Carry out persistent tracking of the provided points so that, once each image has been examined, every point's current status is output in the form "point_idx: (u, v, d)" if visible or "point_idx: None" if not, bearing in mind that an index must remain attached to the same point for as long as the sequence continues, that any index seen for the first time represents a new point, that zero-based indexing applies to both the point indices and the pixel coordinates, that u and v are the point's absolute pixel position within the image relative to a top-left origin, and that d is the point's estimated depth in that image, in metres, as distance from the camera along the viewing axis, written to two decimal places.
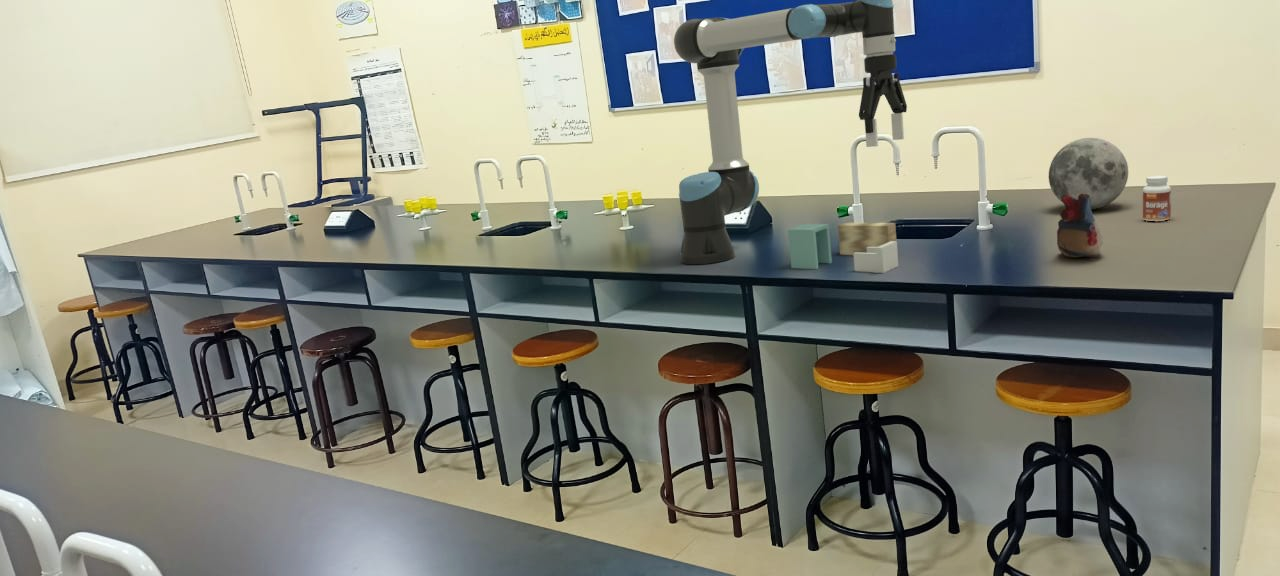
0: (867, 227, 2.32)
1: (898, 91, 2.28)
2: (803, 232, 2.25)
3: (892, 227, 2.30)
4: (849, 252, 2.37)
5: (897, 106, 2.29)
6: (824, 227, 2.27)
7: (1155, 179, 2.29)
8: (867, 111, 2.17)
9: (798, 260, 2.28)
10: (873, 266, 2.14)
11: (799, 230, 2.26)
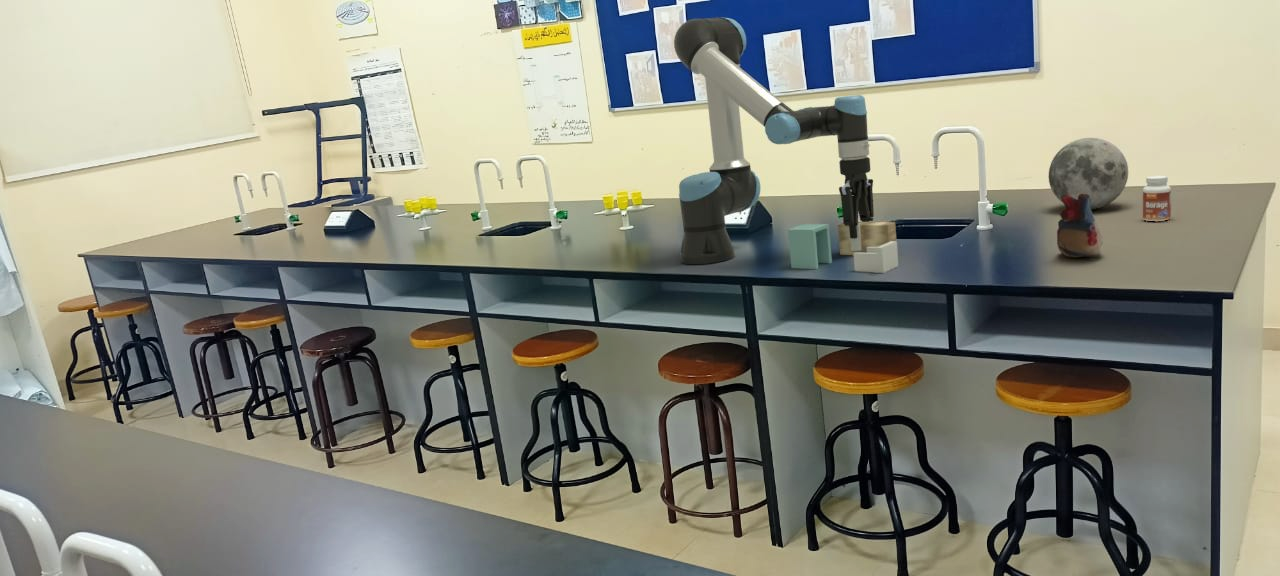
0: (867, 227, 2.32)
1: (869, 196, 2.37)
2: (803, 232, 2.25)
3: (892, 226, 2.30)
4: (849, 251, 2.37)
5: (865, 212, 2.36)
6: (824, 227, 2.27)
7: (1155, 179, 2.29)
8: (851, 220, 2.30)
9: (798, 260, 2.28)
10: (873, 266, 2.14)
11: (799, 230, 2.26)
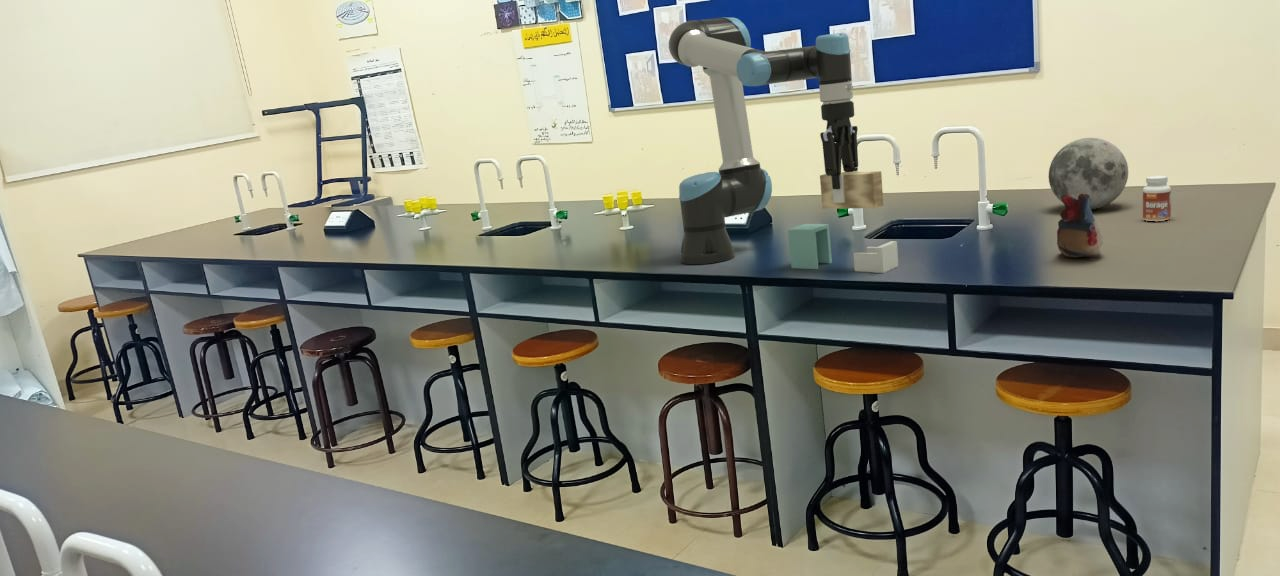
0: (851, 176, 2.15)
1: (853, 145, 2.20)
2: (803, 232, 2.25)
3: (877, 175, 2.13)
4: (832, 204, 2.20)
5: (849, 162, 2.19)
6: (824, 227, 2.27)
7: (1155, 179, 2.29)
8: (833, 168, 2.13)
9: (798, 260, 2.28)
10: (873, 266, 2.14)
11: (799, 230, 2.26)
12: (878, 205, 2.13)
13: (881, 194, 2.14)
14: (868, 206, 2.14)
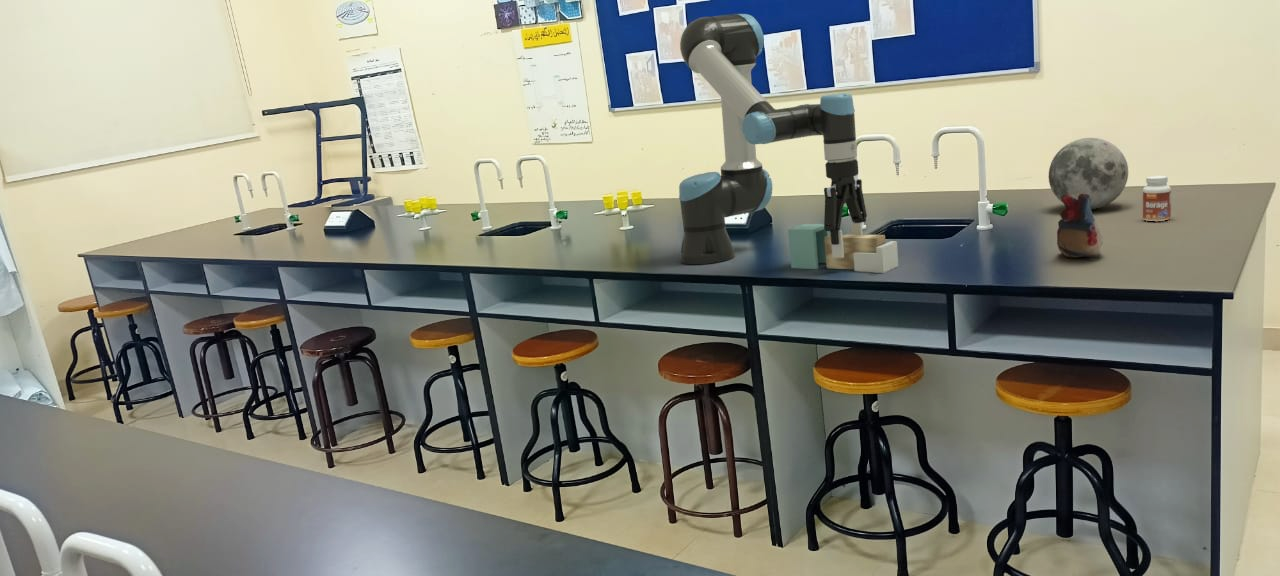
0: (855, 239, 2.18)
1: (859, 198, 2.23)
2: (803, 232, 2.25)
3: (881, 239, 2.16)
4: (836, 265, 2.23)
5: (857, 214, 2.23)
6: None
7: (1155, 179, 2.29)
8: (832, 224, 2.14)
9: (798, 260, 2.28)
10: (873, 266, 2.14)
11: (799, 230, 2.26)
12: None
13: None
14: None
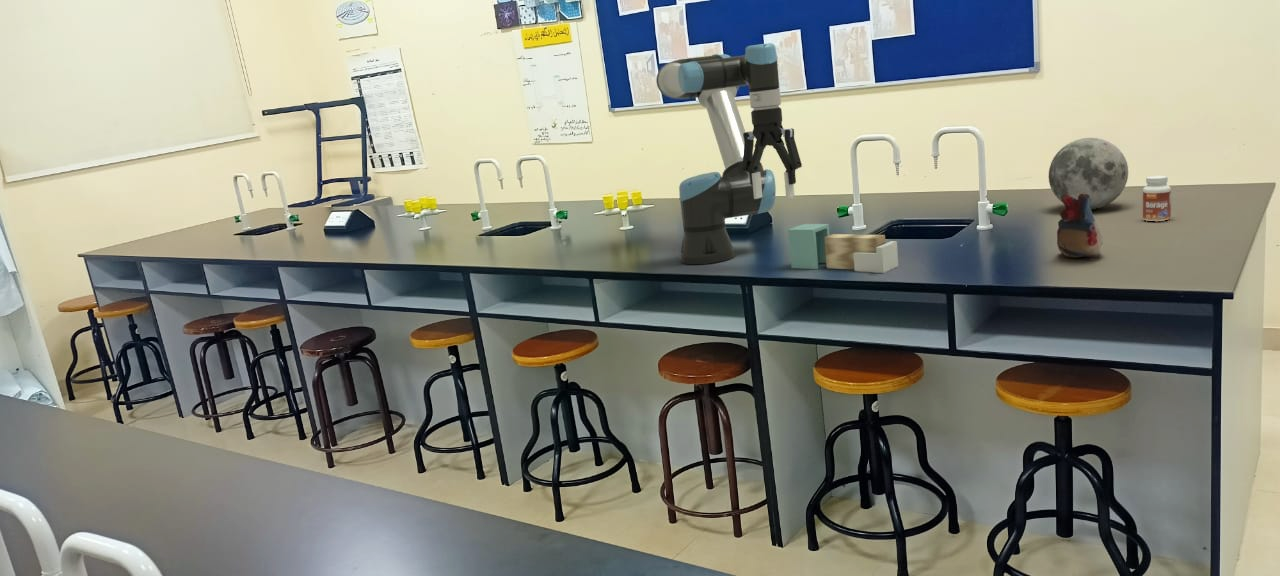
0: (855, 239, 2.18)
1: None
2: (803, 232, 2.25)
3: (881, 239, 2.16)
4: (836, 265, 2.23)
5: None
6: (824, 227, 2.27)
7: (1155, 179, 2.29)
8: None
9: (798, 260, 2.28)
10: (873, 266, 2.14)
11: (799, 230, 2.26)
12: None
13: None
14: None
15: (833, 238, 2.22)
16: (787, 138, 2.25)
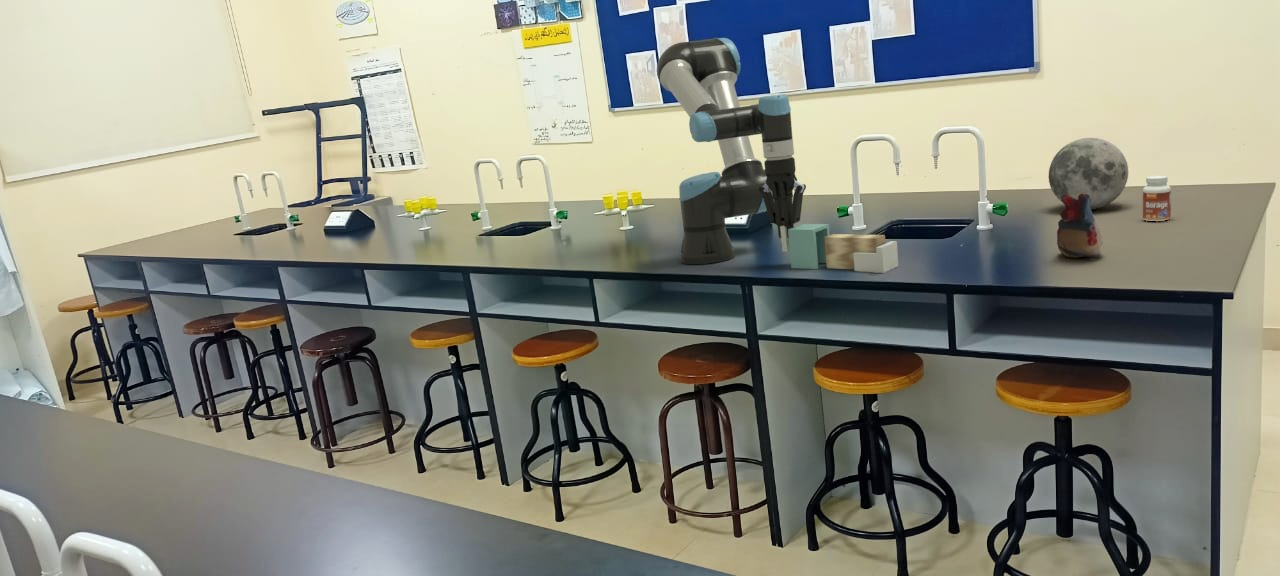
0: (855, 239, 2.18)
1: None
2: (803, 232, 2.25)
3: (881, 239, 2.16)
4: (836, 265, 2.23)
5: None
6: (824, 227, 2.27)
7: (1155, 179, 2.29)
8: None
9: (798, 260, 2.28)
10: (873, 266, 2.14)
11: (799, 230, 2.26)
12: None
13: None
14: None
15: (833, 238, 2.22)
16: (796, 193, 2.26)
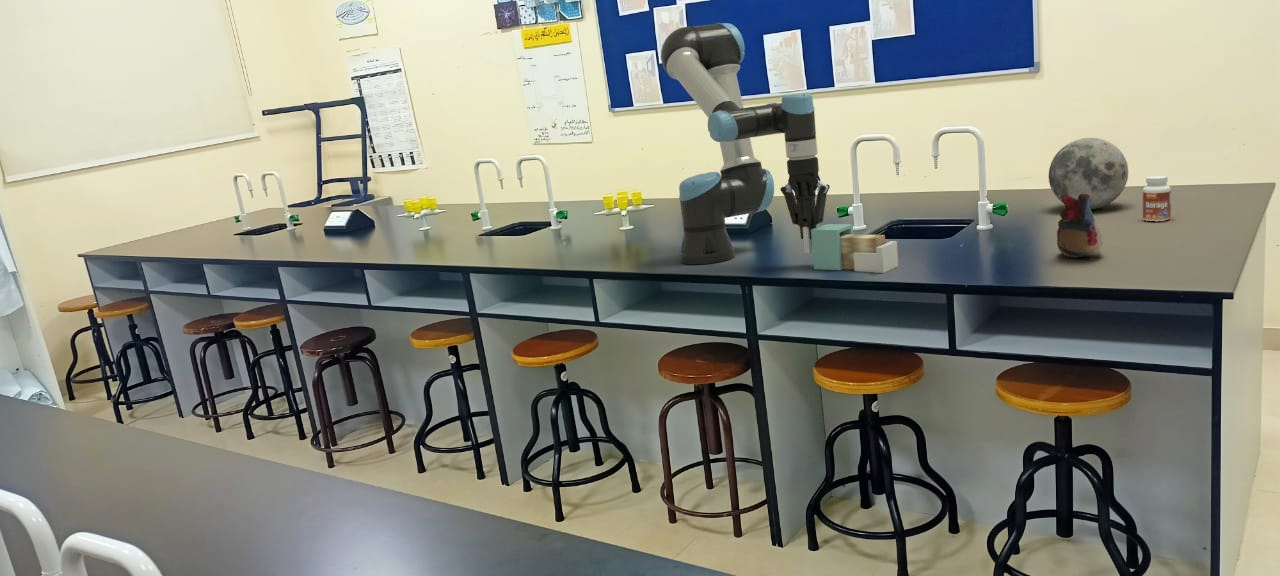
0: (855, 239, 2.18)
1: None
2: (826, 232, 2.21)
3: (881, 239, 2.16)
4: None
5: None
6: (848, 227, 2.22)
7: (1155, 179, 2.29)
8: None
9: (821, 261, 2.23)
10: (873, 266, 2.14)
11: (822, 230, 2.21)
12: None
13: None
14: None
15: None
16: (820, 194, 2.22)
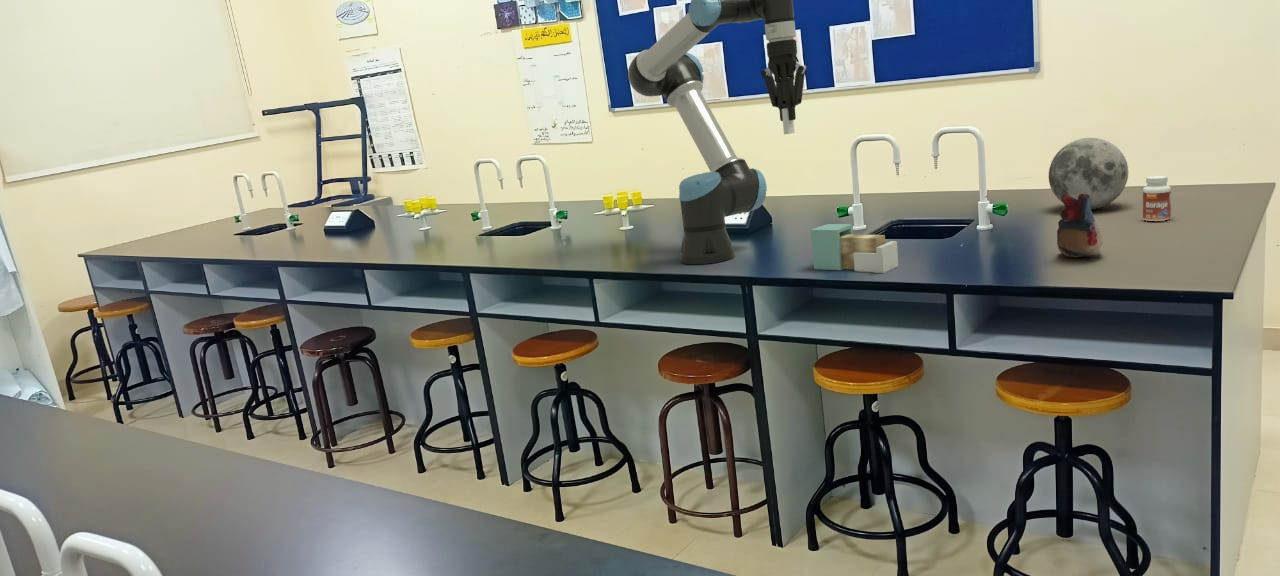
0: (855, 239, 2.18)
1: None
2: (826, 232, 2.21)
3: (881, 239, 2.16)
4: None
5: None
6: (848, 227, 2.22)
7: (1155, 179, 2.29)
8: None
9: (821, 261, 2.23)
10: (873, 266, 2.14)
11: (822, 230, 2.21)
12: None
13: None
14: None
15: None
16: (798, 74, 2.31)
